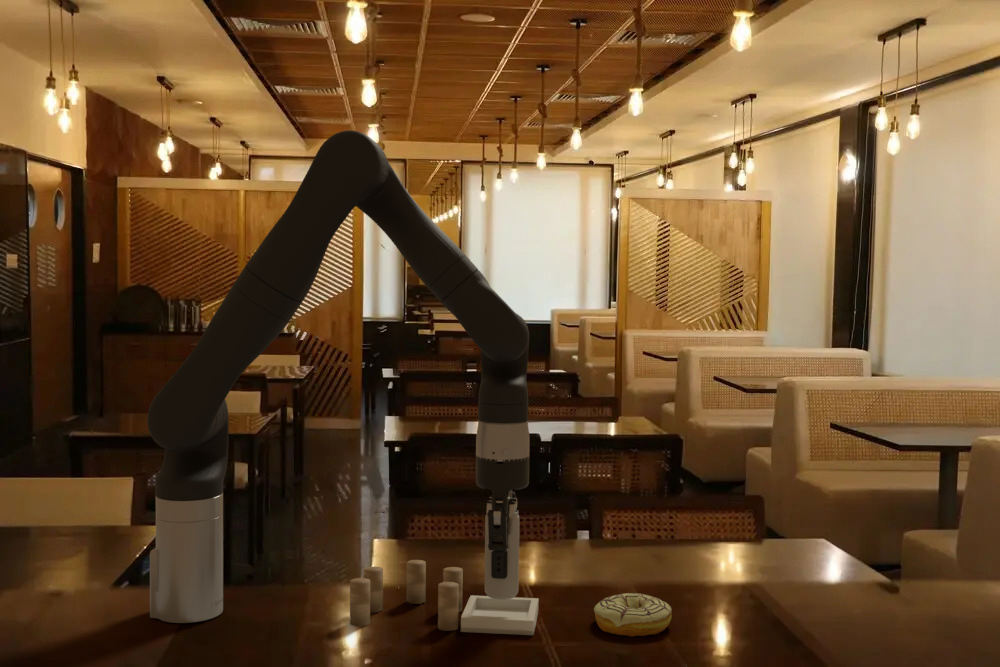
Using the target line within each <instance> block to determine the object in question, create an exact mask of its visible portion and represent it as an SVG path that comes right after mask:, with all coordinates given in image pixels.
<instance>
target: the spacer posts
mask: <svg viewBox="0 0 1000 667" xmlns="http://www.w3.org/2000/svg"><path fill="white" fill-rule="evenodd" d="M426 565H427V562H426V561H425V560H422V559H411V560H408V561H407V562H406V602H407V601H408V602H411V603H423V602H425V603H426V589H427V588H426V584H427V583H426V576H427V575H426V574H427V573H426V572H427V571H426V568H427V567H426ZM442 571H443V572H442V576H443V577H442V578H443V582H440V583H438V590H437V591H438V593H437V594H438V595H437V596H438V597H437V599H438V600H437V601H438V602H437V613H438V614H437V629H438V630H440V631H445V632H449V631H450V632H452V631H455V630H458V629H459V613H460V612H463V586H464V585H463V580H464V579H463V578H464V577H463V573H464V572H463V571H464V569H463V568H462V567H458V566H449V567H448V566H447V567H445V568H443V570H442ZM383 606H384V568H383V567H381V566H367V567H364V568H363V577H356V578H352V579H350V581H349V625H350V626H353V627H366V626H369V625H370V624H371V614H373V613H374V614H376V612H377V613H380V612H379V611H381V610H382V611H383V610H384V609H383V608H384V607H383ZM382 611H381V612H382Z"/></svg>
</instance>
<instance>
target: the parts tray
mask: <svg viewBox="0 0 1000 667" xmlns="http://www.w3.org/2000/svg"><path fill="white" fill-rule="evenodd" d="M539 600H540V599H539V598H538V597H537V598H535V597H517V596H515V597H514V598H511V599H504V600H500V599H493V598H490V597H488V596H487V595H473V594H472V595H470V597H469V598H468V600H467V603H466V606H465V607H464V610H463V611H462V614H461V617H460V633H475V634H476V633H478V634H481V633H482V634H496V635H497V634H499V635H501V634H502V635H516V636H517V635H520V636H534V634H535V629H536V626H537V620H538V614H539V603H540V602H539Z"/></svg>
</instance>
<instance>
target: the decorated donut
mask: <svg viewBox="0 0 1000 667" xmlns="http://www.w3.org/2000/svg"><path fill="white" fill-rule="evenodd" d="M593 612H594V617H595V621H596V624H597V626H598V627H599V629H600V630H601V631H602V632H605V633H609V634H613V635H619V636H627V637H631V638H632V637H637V636H639V637H645V636H649V635H658V634H660V633H661V632H663V631H665V630H666V628H667V627H668V626H670V623H671V620H672V618H673V617H672V616H673V615H672V607H671V606H670V605H669V604H668V603H667V602H665V601H664V600H661V599H660V598H658V597H654V596H652V595H648V594H644V593H634V592H631V593H629V592H627V593H626V592H625V593H620V594H614V595H610V596H607V597H605V598H603V599H602V600H600V601H599V602H598V603H597V604H595V606H594V608H593Z"/></svg>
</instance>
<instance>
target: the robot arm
mask: <svg viewBox="0 0 1000 667" xmlns="http://www.w3.org/2000/svg"><path fill="white" fill-rule="evenodd" d="M355 207H356V208H357V209H359V210H360V211H362V212H363V213H364V214H365V215H366V216H367V217H368V218H370V219H371V220H372V221H373V222H374V223H375V224H376V225H377V226H378V228H380V229H381V231H383V232H384V234H385V235H386V237H388V238H389V240H390V241H391V242H392V243H393V245H394V246H395V248H397V250H398V251H399V253H400V254H401V255H402V257H403V258H404V260H405V261H406V262H407V264H408V265H409V266H410V268H411V270H413V272H414V273H415V275H416V276H417V277H418V278H419V279H420V281H421V282H422V283H423V284H424V286H426V287H427V289H428V290H429V291H430V292H431V293H432V294H433V295H434V296H435V298H436V300H438V301H439V302H440V303H441V305H442V306H443V307H444V308H445V309H447V311H448V312H450V314H452V315H453V316H454V318H456V319H457V321H458V322H459V324H460V325H461V326H462V328H463V329H464V331H465V332H466V333H467V335H468V336H469V337H470V338H471V340H472V341H473V342H474V344H475V345H476V346H477V347H478V348H479V350H480V374H481V375H480V376H481V379H480V385H479V390H478V405H477V406H478V408H477V409H478V411H477V414H478V415H477V416H478V417H477V418H478V421H477V428H476V429H477V431H476V437H475V438H476V439H475V442H476V443H475V484H476V486H477V487H479V488H480V489H484V490H490V491H491V493H492V494H491V496H489V498H488V500H487V501H486V511H487V512H488V513H486V514H487V516H488V529H487V531H488V533H489V544H488V548H489V550H490V551H492V553H491V576H492V578H495V579H505V578H506V577H507V575H508V550H509V536H510V535H511V534H512V533H513V515H514V514H515V511H516V510H518V509H517V508H518V498H517V496H516V495H517V494H516V493H515V491H517V490H519V491H520V490H522V489H525V488H527V487H528V486H529V484H530V440H531V439H530V431H529V430H530V429H529V392H528V391H529V390H528V389H529V388H528V383H527V381H528V380H527V378H528V377H527V376H528V362H529V345H530V331H529V326H528V324H527V323H526V320H524V318H523V317H522V316H520V315H519V314H518V313H516V312H515V310H513V309H512V307H511V306H509V304H507V302H506V301H505V300H504V299H503V298H502V297H501V296H500V295H499V294H498V293H497V292H496V291H495V289H493V288H492V287H491V285H490V283H489V282H488V280H487V279H486V277H485V276H484V274H483V273H482V272H481V270H479V268H478V267H477V266H476V265H475V264H474V263H473V261H471V259H470V258H469V257H468V256H467V255H466V254H465V253H464V251H463V250H462V249H461V248H460V247H459V246H458V245H457V244H456V243H455V242H454V240H452V238H450V237H449V236H448V234H446V233H445V232H444V230H442V229H441V228H440V227H439V226H438V224H436V223H435V222H434V221H433V220H432V218H431V217H429V215H428V214H427V213H425V211H424V209H422V208H421V207H420V205H419V204H418V203H417V202H416V201H415V199H414V197H413V196H411V194H410V193H409V192H408V190H407V189H406V187H405V186H404V184H403V183H402V181H401V179H400V178H399V176H398V175H397V173H396V171H395V170H394V168H393V167H392V165H391V164H390V162H389V161H388V157H387V155H386V153H385V151H384V150H383V149H382V147H381V146H380V145H379V144H378V143H377V142H376V141H375V140H374V139H372V138H371V137H370V136H369V135H367V134H365V133H363V132H361V131H357V130H343V131H339V132H336V133H334V134H332V135H331V136H329V137H328V138H327V139H326V140H325V141H324V142H323V143H322V145H321V146H320V147H319V149H318V151H317V152H316V153H315V156H314V158H313V160H312V161H311V164H310V165H309V168H308V169H307V172H306V174H305V175H304V177H303V179H302V181H301V184H300V185H299V187H298V189H297V191H296V193H295V194H294V197H293V198H292V200H291V201H290V203H289V204H288V207H286V209H285V211H284V212H283V214H282V215H281V216H280V218H279V219H278V220H277V222H276V223H275V224H274V225H273V227H272V228H270V231H268V233H267V235H266V236H265V238H264V239H263V240H262V242H261V243H260V245H259V246H258V248H257V249H256V250H255V252H254V253H253V254H252V256H251V257H250V259H249V260H248V261H247V263H246V264H245V265H244V267H243V269H242V270H241V272H240V274H239V275H238V276H237V278H236V280H235V281H234V282H233V284H232V285H231V287H230V289H229V291H228V292H227V294H226V296H225V297H224V298H223V300H222V301H221V303H220V305H219V306H218V309H217V310H216V311H215V313H214V314H213V316H212V318H211V320H210V321H209V324H208V325H207V326H206V328H205V330H204V332H203V334H202V335H201V337H200V338H199V341H198V342H197V344H196V345H195V346H194V348H193V349H192V350H191V352H190V353H189V355H188V356H187V357H186V358H185V360H184V361H183V363H182V364H181V365H180V366H179V367H178V368H177V369H176V371H175V372H174V373H173V375H172V376H171V377H170V378H169V379H168V381H167V382H166V383H165V384H164V385H163V387H161V389H160V390H159V391H158V392H157V393H156V394H155V396H154V397H153V399H152V401H151V402H150V405H149V408H148V412H147V422H146V423H147V429H148V432H149V434H150V437H151V438H152V440H153V441H154V442H155V443H156V444H157V445H158V446H159V447H161V448H164V456H163V461H162V464H161V467H160V469H159V471H158V473H157V475H156V478H155V483H154V484H155V487H154V488H155V490H154V491H155V548H153V549H152V550H150V552H149V618H151V619H158V620H160V621H162V622H166V623H174V624H187V623H188V624H189V623H199V622H203V621H208V620H211V619H214V618H216V617H218V616H219V615H221V614H222V613H223V611H224V480H225V476H226V472H227V468H228V457H229V456H228V455H229V454H228V453H229V421H230V420H229V410H228V409H229V408H228V404H227V401H226V398H227V397H228V395H229V393H230V392H231V390H232V388H233V387H234V385H235V383H236V382H237V381H238V380H239V378H240V377H241V376H242V374H243V373H244V372H245V371H246V369H248V367H249V366H250V365H251V364H252V363H253V362H254V361H255V360H256V359H257V358H258V357H259V356H260V355H262V354H263V352H264V351H266V349H267V348H268V347H269V346H270V345H271V344H272V343H273V342H274V341H275V340H276V338H277V337H278V336H279V335H280V334H281V333H282V332H283V330H284V329H285V328H286V326H288V324H289V323H290V321H291V320H292V318H294V315H295V314H296V312H297V311H298V309H299V308H300V306H301V304H302V303H303V302H304V300H305V299H306V298H307V295H308V293H309V292H310V291H311V288H312V286H313V284H314V281H315V280H316V277H317V276H318V274H319V270H320V268H321V266H322V262H323V260H324V257H325V255H326V252H327V251H328V250H327V249H328V247H329V246H330V243H331V241H332V239H333V238H334V235H335V234H336V233H337V231H338V230H339V228H340V226H341V225H342V224H343V223H344V222H345V220H346V219H347V218H348V216H349V215H350V213H351V212H352V211H353V210H354V208H355ZM508 515H509V516H508ZM508 518H509V526H508V528H507V523H508ZM495 536H502V537H503V542H497V541H495Z"/></svg>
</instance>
